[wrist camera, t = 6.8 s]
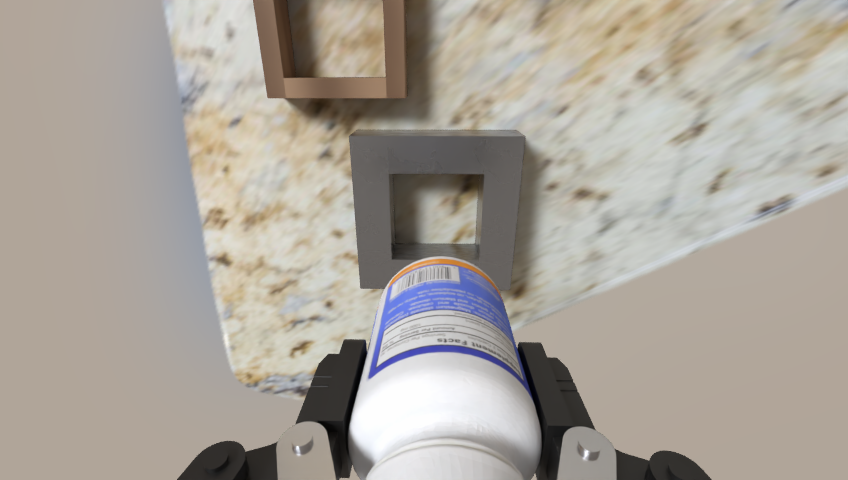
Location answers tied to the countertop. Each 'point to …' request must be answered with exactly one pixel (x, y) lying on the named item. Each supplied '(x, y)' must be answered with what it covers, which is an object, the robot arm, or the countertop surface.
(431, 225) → the countertop surface
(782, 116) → the countertop surface
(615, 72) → the countertop surface
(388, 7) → the walnut stand
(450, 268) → the pill bottle
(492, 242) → the steel block
